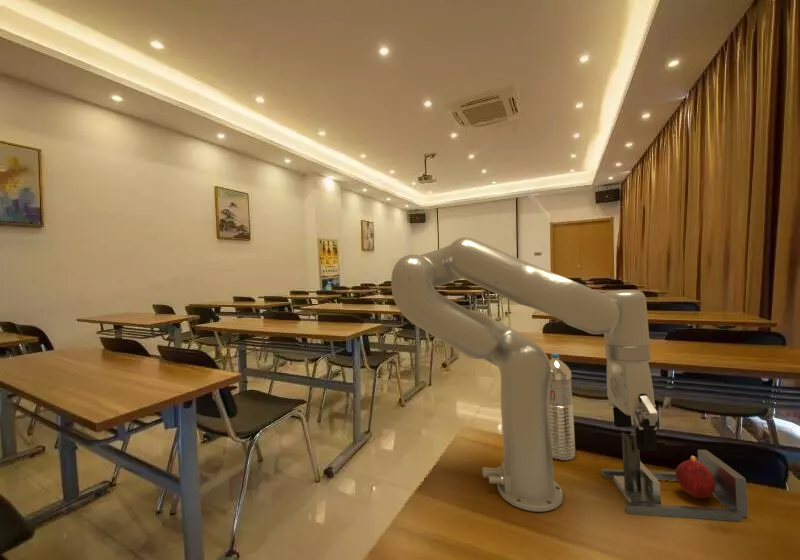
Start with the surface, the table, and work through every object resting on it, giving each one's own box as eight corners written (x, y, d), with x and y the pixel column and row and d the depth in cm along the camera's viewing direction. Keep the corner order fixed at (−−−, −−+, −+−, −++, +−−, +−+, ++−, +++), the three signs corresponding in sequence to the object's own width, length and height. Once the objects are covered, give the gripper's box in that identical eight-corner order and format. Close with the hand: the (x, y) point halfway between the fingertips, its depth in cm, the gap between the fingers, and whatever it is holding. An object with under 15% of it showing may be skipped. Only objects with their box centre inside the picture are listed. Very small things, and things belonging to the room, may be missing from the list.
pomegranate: (724, 509, 63) (722, 466, 63) (688, 506, 64) (686, 464, 64) (703, 489, 68) (701, 449, 68) (670, 487, 70) (668, 448, 69)
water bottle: (579, 462, 80) (574, 356, 80) (549, 461, 82) (543, 357, 81) (570, 447, 87) (565, 350, 87) (541, 446, 88) (537, 350, 88)
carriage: (631, 506, 65) (628, 443, 65) (613, 481, 73) (610, 425, 72) (661, 508, 64) (658, 444, 64) (639, 482, 72) (636, 426, 71)
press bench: (627, 513, 63) (626, 475, 63) (602, 475, 75) (600, 443, 75) (752, 522, 59) (750, 482, 59) (704, 480, 71) (702, 447, 71)
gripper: (591, 344, 77) (597, 419, 77) (626, 364, 60) (634, 460, 60) (627, 342, 76) (634, 419, 76) (674, 362, 59) (682, 461, 59)
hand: (634, 437), depth 68 cm, fingers open, 9 cm apart
